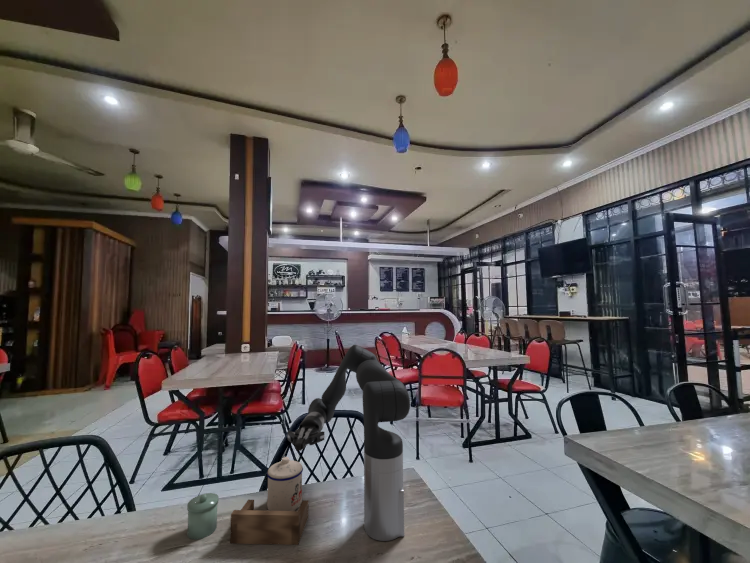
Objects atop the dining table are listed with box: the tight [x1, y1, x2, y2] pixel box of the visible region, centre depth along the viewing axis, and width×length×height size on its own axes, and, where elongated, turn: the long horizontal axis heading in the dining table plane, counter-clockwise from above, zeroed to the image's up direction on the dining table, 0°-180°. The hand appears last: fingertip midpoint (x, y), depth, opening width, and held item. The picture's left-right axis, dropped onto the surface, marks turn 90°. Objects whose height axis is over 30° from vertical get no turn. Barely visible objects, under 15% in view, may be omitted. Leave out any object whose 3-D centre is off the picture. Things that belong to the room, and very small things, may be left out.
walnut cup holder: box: [229, 499, 310, 546], centre depth 74 cm, size 15×9×6 cm, turn 88°
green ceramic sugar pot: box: [186, 492, 219, 540], centre depth 75 cm, size 6×6×8 cm
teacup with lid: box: [266, 456, 304, 511], centre depth 86 cm, size 12×9×12 cm
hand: (298, 447), depth 98 cm, fingers closed
